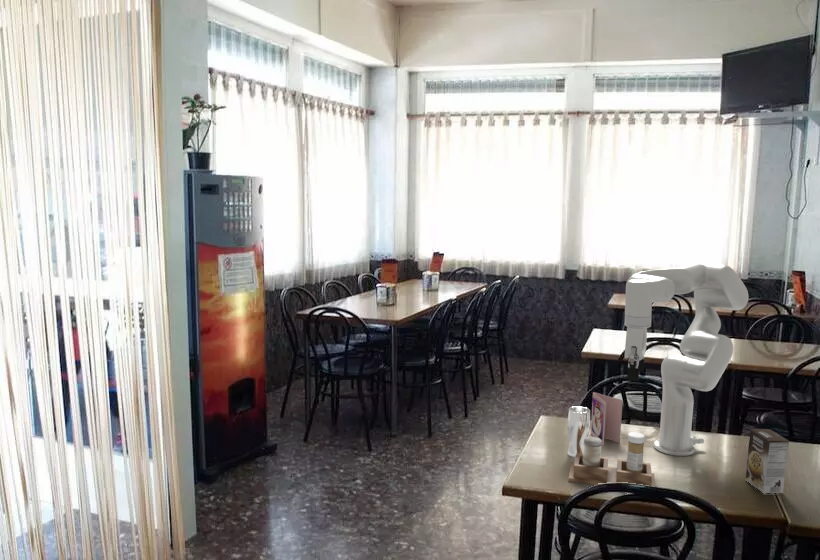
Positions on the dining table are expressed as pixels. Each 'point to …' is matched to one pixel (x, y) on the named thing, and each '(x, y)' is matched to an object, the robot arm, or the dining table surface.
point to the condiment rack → (605, 468)
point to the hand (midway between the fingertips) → (635, 375)
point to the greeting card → (606, 417)
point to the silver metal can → (578, 429)
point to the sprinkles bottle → (635, 452)
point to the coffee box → (767, 460)
